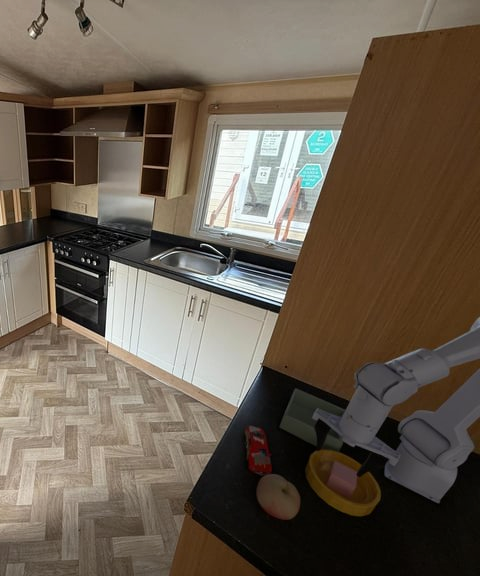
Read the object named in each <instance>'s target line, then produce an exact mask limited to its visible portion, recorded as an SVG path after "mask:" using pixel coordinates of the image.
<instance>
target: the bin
mask: <svg viewBox="0 0 480 576" xmlns="http://www.w3.org/2000/svg"><path fill="white" fill-rule="evenodd" d="M317 408H319V409H321V410H323V411H325V412H328V413H330V414H333V415H336V416H339V417H341V418H342V416H343V414H344V412H345V410H346V408H342V407H340V406H339V405H335V404H333V403H331V402H328V401H326V400H324V399H322V398H319V397H318V396H314V395H312V394H310V393H307V392H305V391H303V390H301V389H299V388H296V387H295V388H294V390H293V392H292V394H291V396H290V399H289V402H288V405H287V406H286V409H285V411H284V414H283V415H282V419H281V421H280V424H279V429H282V430H283V431H285V432H287V433H289V434H291V435H293V436H295V437H297V438H299V439H301V440H303V441H305V442H307V443H308V444H311V445H312V446H315V447H317V436H316V432H315V429H314V426H315V424H316V422H317V421H316V420H314V419H313V418H312V416H313V414H314V412H315V411H316V410H317ZM342 439H343V437H342V436H340V435H339V434H338V433H337V432H336V431H334V430H333V429H332V428H331V429H330V431H329V433H328V435H327V437H326V440H325V442H324V444H323V446H322V448H321V449H320V450H322V449H326V450H333V451H336V452H340V450H341V448H342V447H343V444H344V441H343V440H342Z"/></svg>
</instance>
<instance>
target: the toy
mask: <svg viewBox="0 0 480 576" xmlns="http://www.w3.org/2000/svg"><path fill="white" fill-rule="evenodd" d="M356 474H357V472H356V471H354V470H352V469H350V468H348V467H346V466H344V465H342V464H340V463H339V462H337V461H334V463H333V465H332V467H331V468H330V470H329V472H328V477H327V481H326V486H327V487H329V488H330V489H332V490H334V491H336V492H337V493H339V494H341V495H343V496H345V497H346V498H348V499H349V497H350V496H351V494H352V493H353V491H354V489H355V488H356V482H357V475H356Z"/></svg>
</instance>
